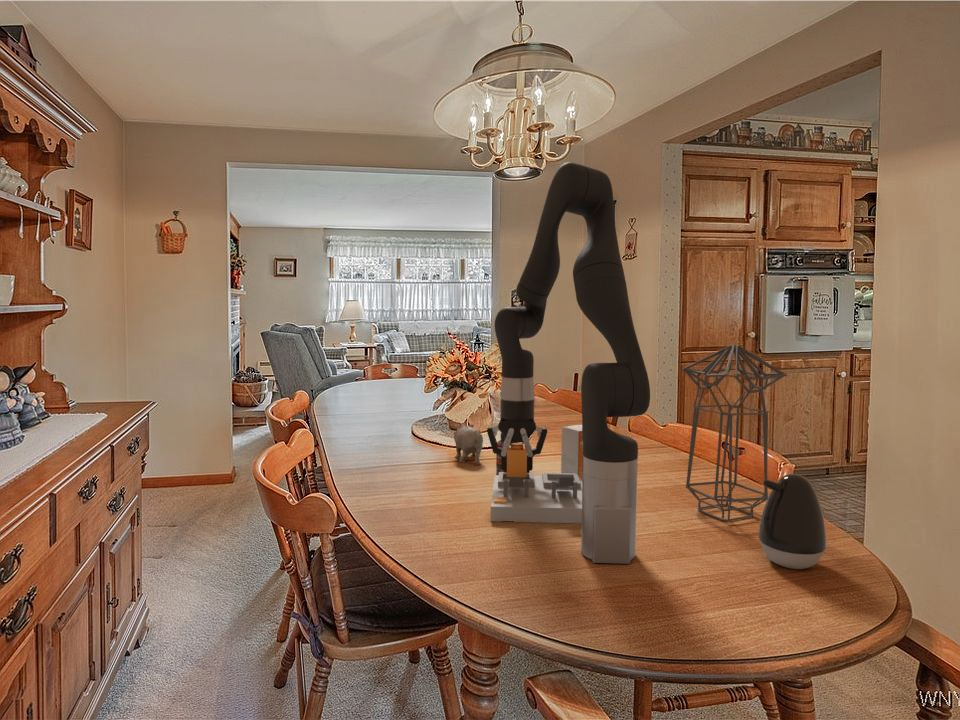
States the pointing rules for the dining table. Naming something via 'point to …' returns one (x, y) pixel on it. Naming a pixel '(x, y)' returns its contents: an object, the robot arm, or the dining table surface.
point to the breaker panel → (537, 499)
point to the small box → (572, 450)
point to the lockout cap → (516, 460)
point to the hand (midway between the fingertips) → (516, 471)
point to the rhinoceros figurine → (468, 442)
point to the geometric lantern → (730, 423)
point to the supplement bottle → (498, 457)
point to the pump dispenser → (792, 523)
